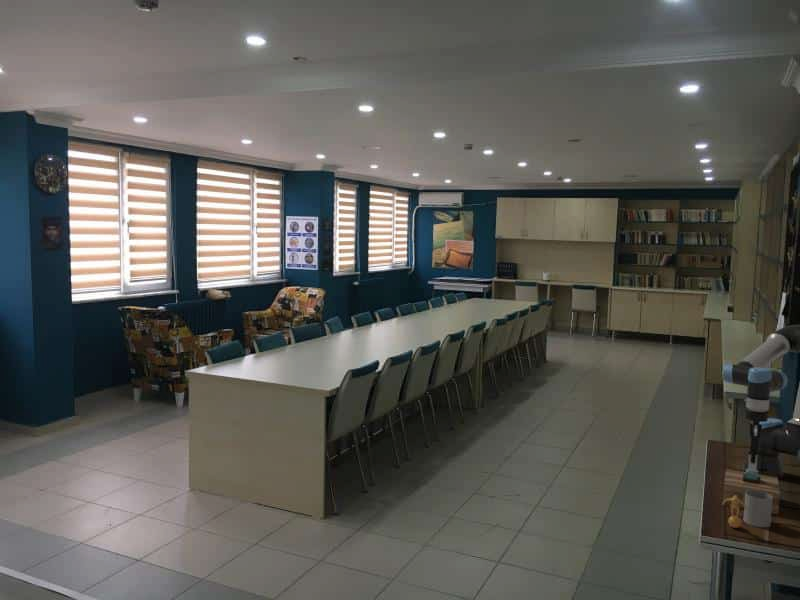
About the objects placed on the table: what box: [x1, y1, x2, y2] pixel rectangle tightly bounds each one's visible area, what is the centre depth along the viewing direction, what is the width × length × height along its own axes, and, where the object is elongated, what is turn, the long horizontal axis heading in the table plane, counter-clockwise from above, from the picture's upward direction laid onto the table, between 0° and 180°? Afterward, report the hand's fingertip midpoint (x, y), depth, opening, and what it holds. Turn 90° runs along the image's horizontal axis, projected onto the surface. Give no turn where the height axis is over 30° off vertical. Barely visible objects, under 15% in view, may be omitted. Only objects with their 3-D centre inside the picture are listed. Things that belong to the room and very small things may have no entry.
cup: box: [742, 490, 773, 528], centre depth 234 cm, size 8×8×10 cm
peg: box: [746, 469, 758, 480], centre depth 253 cm, size 4×4×8 cm
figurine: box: [721, 495, 749, 529], centre depth 229 cm, size 8×6×12 cm
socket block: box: [722, 468, 781, 515], centre depth 253 cm, size 18×18×9 cm
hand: (752, 470), depth 253 cm, fingers closed
